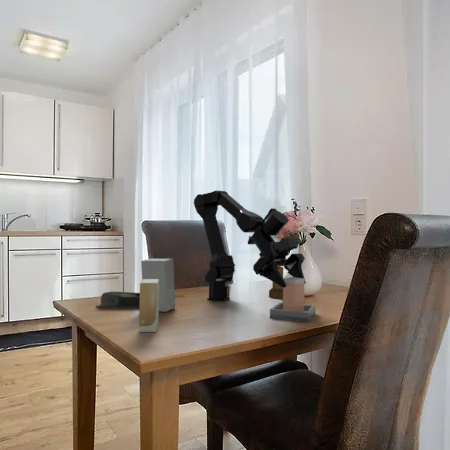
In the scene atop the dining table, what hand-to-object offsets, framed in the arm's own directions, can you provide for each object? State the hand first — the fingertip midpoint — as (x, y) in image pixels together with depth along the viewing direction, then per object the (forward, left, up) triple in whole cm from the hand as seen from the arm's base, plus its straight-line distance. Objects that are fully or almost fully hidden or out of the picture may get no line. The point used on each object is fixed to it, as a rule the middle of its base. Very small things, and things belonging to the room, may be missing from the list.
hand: (295, 285), depth 113 cm
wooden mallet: (-13, +28, -9) cm, 32 cm away
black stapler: (-53, -11, -10) cm, 55 cm away
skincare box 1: (-41, -10, -9) cm, 43 cm away
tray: (-1, 0, -9) cm, 9 cm away
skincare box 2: (-31, -30, -9) cm, 44 cm away
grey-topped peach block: (0, 0, -8) cm, 8 cm away
